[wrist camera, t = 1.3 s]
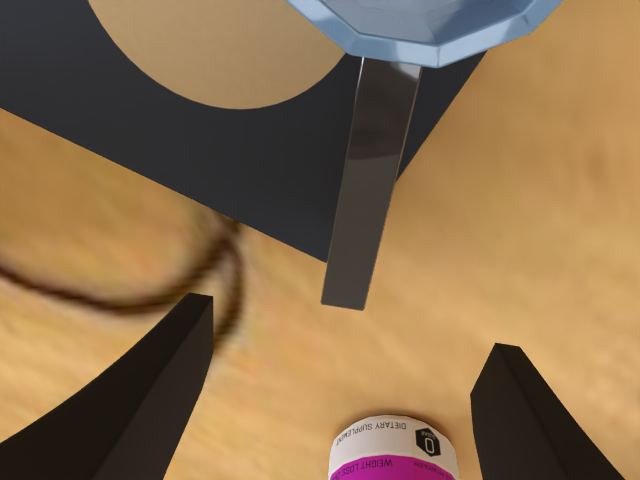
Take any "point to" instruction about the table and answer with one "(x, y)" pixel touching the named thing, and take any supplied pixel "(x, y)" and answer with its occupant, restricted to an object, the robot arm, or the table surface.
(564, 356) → the table surface
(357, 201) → the pot
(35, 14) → the desk mat
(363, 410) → the table surface
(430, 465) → the supplement can
